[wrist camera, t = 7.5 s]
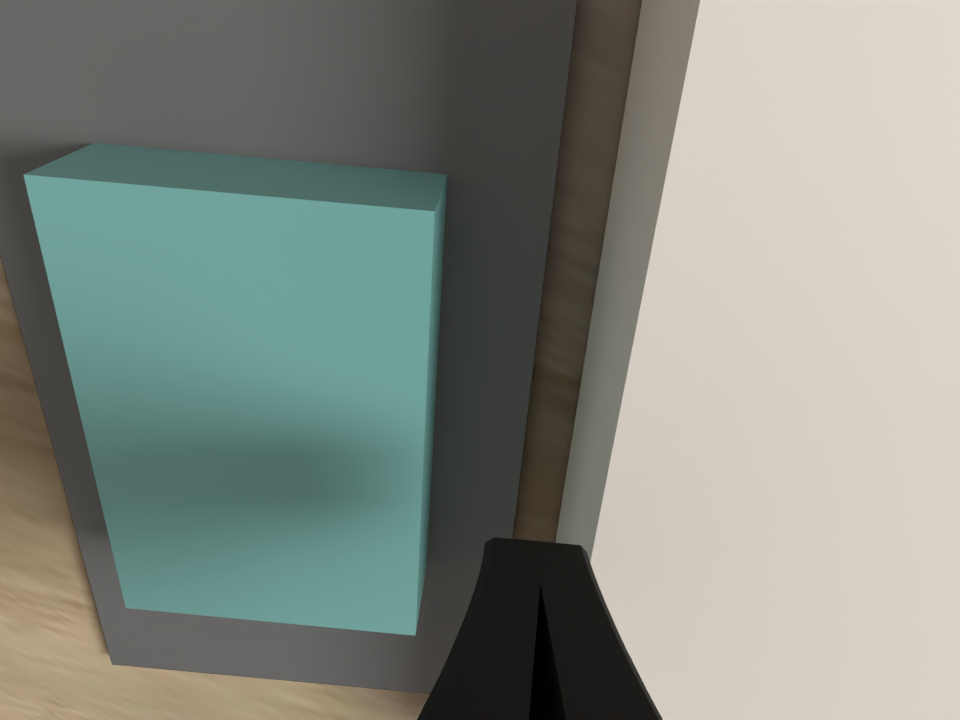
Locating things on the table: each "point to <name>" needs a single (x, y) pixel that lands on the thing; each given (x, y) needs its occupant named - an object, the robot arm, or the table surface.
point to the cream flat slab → (780, 363)
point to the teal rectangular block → (252, 375)
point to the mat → (321, 139)
